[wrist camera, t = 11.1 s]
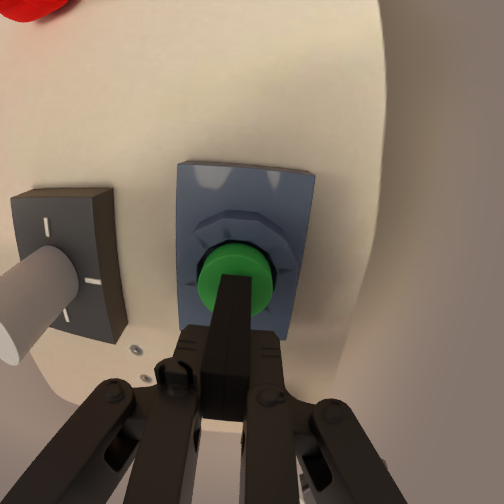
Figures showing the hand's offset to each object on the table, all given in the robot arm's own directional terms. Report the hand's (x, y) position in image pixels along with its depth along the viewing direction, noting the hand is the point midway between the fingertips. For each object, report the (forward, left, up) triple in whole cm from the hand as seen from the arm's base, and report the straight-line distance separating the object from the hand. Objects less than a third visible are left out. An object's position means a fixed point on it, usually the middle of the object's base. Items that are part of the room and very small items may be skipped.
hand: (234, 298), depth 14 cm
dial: (-2, +14, -3) cm, 14 cm away
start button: (0, 0, -2) cm, 2 cm away
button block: (0, 0, -6) cm, 6 cm away
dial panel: (-2, +14, -6) cm, 15 cm away
